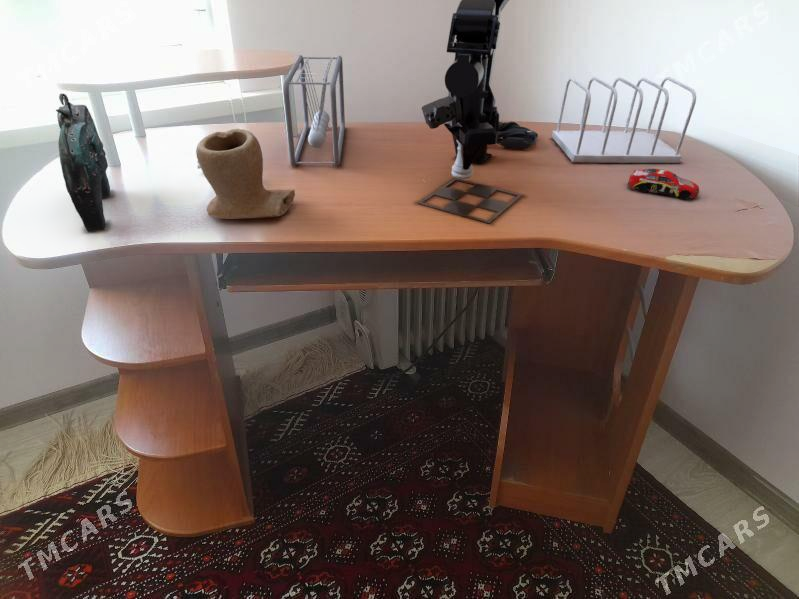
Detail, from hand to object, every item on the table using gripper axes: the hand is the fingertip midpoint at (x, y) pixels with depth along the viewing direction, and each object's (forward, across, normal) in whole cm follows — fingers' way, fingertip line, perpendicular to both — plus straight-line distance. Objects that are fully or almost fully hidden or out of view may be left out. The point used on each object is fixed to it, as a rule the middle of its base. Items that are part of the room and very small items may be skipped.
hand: (462, 165), depth 108 cm
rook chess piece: (+2, 0, 0) cm, 2 cm away
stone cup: (+4, +6, -42) cm, 42 cm away
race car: (+5, +9, +40) cm, 41 cm away
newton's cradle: (+5, -29, -26) cm, 39 cm away
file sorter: (+5, -15, +42) cm, 45 cm away
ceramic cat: (+4, -1, -69) cm, 69 cm away
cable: (+5, -26, +18) cm, 32 cm away
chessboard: (+4, +7, 0) cm, 8 cm away
